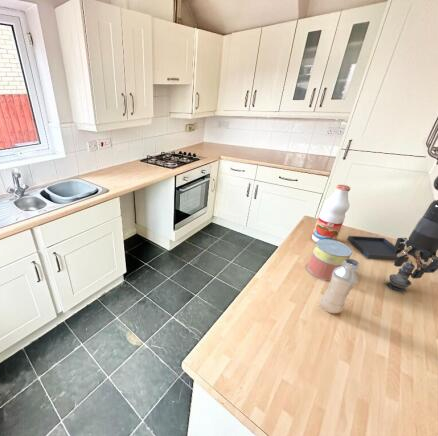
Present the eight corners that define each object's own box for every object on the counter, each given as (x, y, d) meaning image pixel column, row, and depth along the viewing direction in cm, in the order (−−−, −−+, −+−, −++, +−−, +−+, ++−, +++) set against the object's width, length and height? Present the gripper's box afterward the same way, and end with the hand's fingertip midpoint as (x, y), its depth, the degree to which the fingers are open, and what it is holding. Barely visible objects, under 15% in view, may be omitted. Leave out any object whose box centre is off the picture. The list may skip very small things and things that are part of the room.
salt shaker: (381, 281, 93) (395, 256, 87) (396, 281, 93) (412, 256, 87) (394, 292, 88) (410, 267, 82) (411, 293, 87) (428, 267, 82)
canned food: (321, 260, 105) (330, 236, 99) (347, 277, 95) (359, 252, 90) (301, 265, 102) (309, 242, 96) (326, 283, 92) (337, 258, 86)
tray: (382, 241, 116) (384, 237, 115) (407, 261, 103) (409, 257, 102) (347, 239, 118) (349, 235, 117) (367, 258, 105) (369, 254, 104)
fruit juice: (335, 239, 118) (357, 185, 105) (333, 248, 112) (357, 192, 99) (312, 233, 124) (331, 181, 110) (309, 241, 117) (329, 187, 104)
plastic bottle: (344, 310, 81) (369, 263, 72) (335, 319, 78) (360, 272, 69) (323, 298, 86) (344, 252, 77) (314, 306, 83) (334, 260, 73)
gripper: (468, 244, 72) (437, 285, 80) (420, 220, 85) (397, 258, 93) (443, 244, 72) (414, 286, 80) (398, 221, 85) (377, 259, 93)
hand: (405, 271), depth 86 cm, fingers open, 5 cm apart
